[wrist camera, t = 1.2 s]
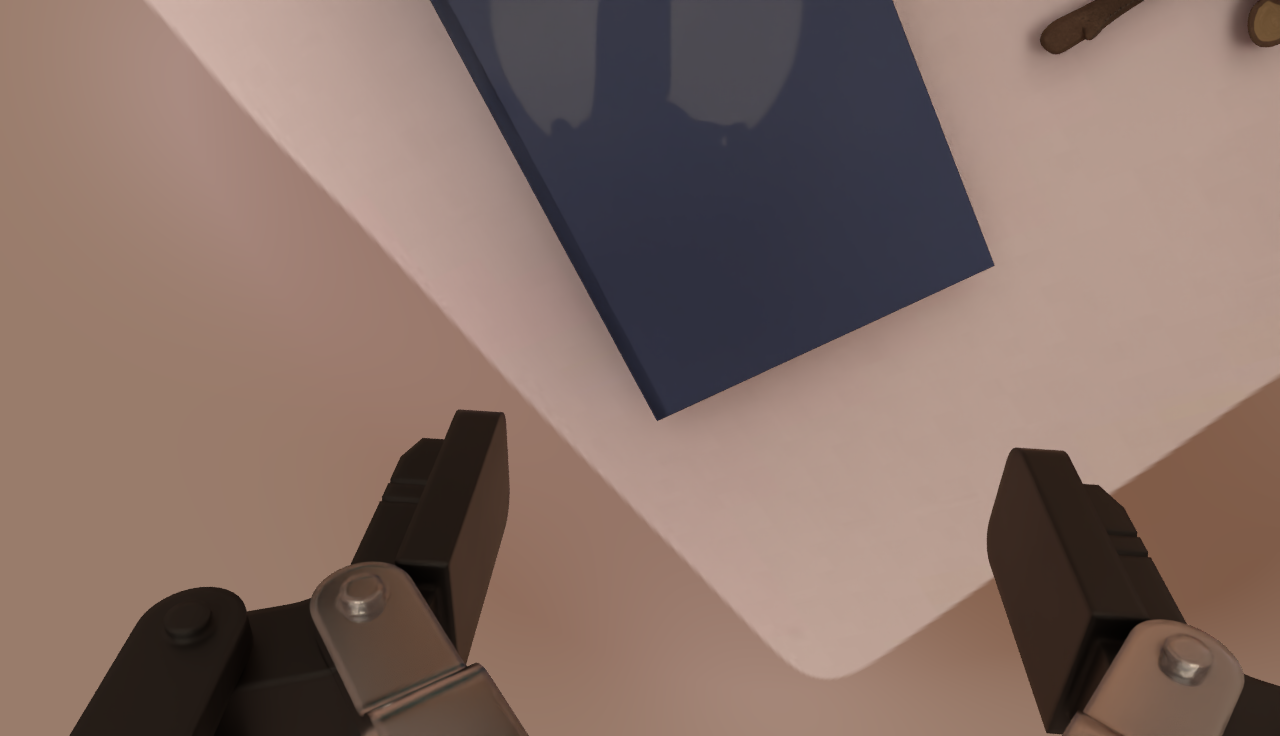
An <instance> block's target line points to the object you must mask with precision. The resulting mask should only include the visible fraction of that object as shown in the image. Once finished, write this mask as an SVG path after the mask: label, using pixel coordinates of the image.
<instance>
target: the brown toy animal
mask: <svg viewBox="0 0 1280 736" xmlns="http://www.w3.org/2000/svg"><path fill="white" fill-rule="evenodd" d="M1142 1H1144V0H1095V1H1093V2H1091V3H1089V4H1087V5H1085V6H1084V7H1081V8H1079V9H1077V10H1075V11H1073V12H1071V13H1069V14H1067V15H1065V16H1063V17H1061V18H1059V19H1057V20H1056V21H1054V22H1052V23H1051V24H1050V25H1049V26H1048V27H1047V28H1046V29H1045V30H1044V31H1043V33H1042V34H1041V37H1040V42H1041V45H1042V46H1043V48H1044V49H1045V50H1047V51H1048V52H1050V53H1052V54H1060V53H1063V52H1065V51H1067V50H1068V49H1070V48H1072V47H1073V46H1075V45H1076V44H1078V43H1079V42H1081V41H1083V40H1084V39H1086V40H1092V39H1093V38H1095V37H1096V36H1097V35H1098V34H1099V33H1100V32H1101V31H1102V29H1104V28H1105V27H1106V26H1107V25H1108V24H1110V23H1111V22H1112V21H1114V20H1115V19H1116V18H1118V17H1119V16H1121V15H1122V14H1124V13H1125V12H1127V11H1128V10H1130V9H1131V8H1133V7H1134V6H1136V5H1138V4H1139V3H1141V2H1142ZM1248 32H1249V35H1250V38H1251V39H1252V41H1253V42H1254V43H1255V44H1256V45H1258V46H1260V47H1272V46H1275V45H1278V44H1280V0H1259V1H1258V2H1257V3H1256V4H1255V5H1254V6H1253V7H1252V9H1251V11H1250V13H1249V17H1248Z"/></svg>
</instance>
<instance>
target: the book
mask: <svg viewBox="0 0 1280 736" xmlns="http://www.w3.org/2000/svg"><path fill="white" fill-rule="evenodd" d="M430 1H431V3H432V5H433V6H434V8H435V10H436V12H437V14H438V16H439V18H440V19H441V21H442V23H443V25H444V27H445V29H446V31H447V32H448V34H449V36H450V38H451V40H452V42H453V44H454V45H455V47H456V49H457V51H458V53H459V55H460V57H461V58H462V60H463V62H464V64H465V66H466V68H467V70H468V71H469V73H470V75H471V77H472V79H473V81H474V83H475V84H476V86H477V88H478V90H479V92H480V94H481V96H482V97H483V99H484V101H485V103H486V105H487V107H488V108H489V110H490V112H491V114H492V116H493V118H494V120H495V121H496V123H497V125H498V127H499V129H500V131H501V133H502V134H503V136H504V138H505V140H506V142H507V144H508V146H509V147H510V149H511V151H512V153H513V155H514V157H515V159H516V160H517V162H518V164H519V166H520V168H521V170H522V172H523V173H524V175H525V177H526V179H527V181H528V183H529V185H530V186H531V188H532V190H533V192H534V194H535V196H536V198H537V199H538V201H539V203H540V205H541V207H542V209H543V210H544V212H545V214H546V216H547V218H548V220H549V222H550V223H551V225H552V227H553V229H554V231H555V233H556V235H557V236H558V238H559V240H560V242H561V244H562V246H563V248H564V249H565V251H566V253H567V255H568V257H569V259H570V261H571V262H572V264H573V266H574V268H575V270H576V272H577V274H578V275H579V277H580V279H581V281H582V283H583V285H584V287H585V288H586V290H587V292H588V294H589V296H590V298H591V300H592V301H593V303H594V305H595V307H596V309H597V311H598V312H599V314H600V316H601V318H602V320H603V322H604V324H605V325H606V327H607V329H608V331H609V333H610V335H611V337H612V338H613V340H614V342H615V344H616V346H617V348H618V350H619V351H620V353H621V355H622V357H623V359H624V361H625V363H626V364H627V366H628V368H629V370H630V372H631V374H632V376H633V377H634V379H635V381H636V383H637V385H638V387H639V389H640V390H641V392H642V394H643V396H644V398H645V400H646V402H647V403H648V405H649V407H650V409H651V411H652V413H653V415H654V416H655V418H656V420H657V421H658V420H661V419H663V418H665V417H667V416H669V415H671V414H674V413H676V412H678V411H680V410H682V409H684V408H687V407H689V406H691V405H693V404H695V403H697V402H700V401H702V400H704V399H706V398H708V397H710V396H713V395H715V394H717V393H719V392H721V391H724V390H726V389H728V388H730V387H732V386H734V385H737V384H739V383H741V382H743V381H745V380H747V379H750V378H752V377H754V376H756V375H758V374H760V373H763V372H765V371H767V370H769V369H771V368H773V367H776V366H778V365H780V364H782V363H784V362H786V361H789V360H791V359H793V358H795V357H797V356H799V355H802V354H804V353H806V352H808V351H810V350H812V349H815V348H817V347H819V346H821V345H823V344H826V343H828V342H830V341H832V340H834V339H836V338H839V337H841V336H843V335H845V334H847V333H849V332H852V331H854V330H856V329H858V328H860V327H862V326H865V325H867V324H869V323H871V322H873V321H875V320H878V319H880V318H882V317H884V316H886V315H888V314H891V313H893V312H895V311H897V310H899V309H901V308H904V307H906V306H908V305H910V304H912V303H915V302H917V301H919V300H921V299H923V298H925V297H928V296H930V295H932V294H934V293H936V292H938V291H941V290H943V289H945V288H947V287H949V286H951V285H954V284H956V283H958V282H960V281H962V280H964V279H967V278H969V277H971V276H973V275H975V274H977V273H980V272H982V271H984V270H986V269H988V268H990V267H993V266H994V263H993V260H992V258H991V255H990V252H989V250H988V247H987V245H986V242H985V239H984V237H983V234H982V232H981V229H980V226H979V224H978V221H977V219H976V216H975V214H974V211H973V208H972V206H971V203H970V201H969V198H968V195H967V193H966V190H965V188H964V185H963V182H962V180H961V177H960V175H959V172H958V169H957V167H956V164H955V162H954V159H953V157H952V154H951V151H950V149H949V146H948V144H947V141H946V138H945V136H944V133H943V131H942V128H941V125H940V123H939V120H938V118H937V115H936V112H935V110H934V107H933V105H932V102H931V100H930V97H929V94H928V92H927V89H926V87H925V84H924V81H923V79H922V76H921V74H920V71H919V68H918V66H917V63H916V61H915V58H914V55H913V53H912V50H911V48H910V45H909V43H908V40H907V37H906V35H905V32H904V30H903V27H902V24H901V22H900V19H899V17H898V14H897V11H896V9H895V6H894V4H893V1H892V0H430Z"/></svg>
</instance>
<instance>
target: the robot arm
mask: <svg viewBox="0 0 1280 736" xmlns="http://www.w3.org/2000/svg"><path fill="white" fill-rule="evenodd" d="M509 490H510V488H509V469H508V449H507V431H506V419H505V415H504V413H503V412H488V411H473V410H457V411H456V413H455V415H454V418H453V420H452V422H451V425H450V427H449V430H448V432H447V434H446V437H445V439H444V440H443V439H430V438H422V439H421V440H420V441H419V442H418V443H416V444H415V445H414V446H413V447H412V448H410V449H409V450H408V451H407V452H406V453H405V454H404V455H402V456H401V457H400V460H399V462H398V464H397V466H396V468H395V470H394V472H393V475H392V477H391V482H390V483H388V485H387V488H386V490H385V492H384V494H383V496H382V501H380V503H379V505H378V507H377V509H376V511H375V513H374V516H373V518H372V520H371V522H370V524H369V526H368V528H367V531H366V533H365V535H364V537H363V539H362V541H361V543H360V546H359V548H358V550H357V552H356V554H355V556H354V558H353V561H352V563H351V565H349V566H346V567H344V568H342V569H339V570H337V571H336V572H334V573H332V574H331V575H329V576H328V577H327V578H325V579H324V580H323V581H322V582H321V583H320V584H319V585H318V586H317V588H316V589H315V591H314V593H313V595H312V597H311V598H310V599H307V600H304V601H301V602H297V603H293V604H288V605H283V606H277V607H271V608H265V609H259V610H253V611H248V612H247V611H246V607H245V605H244V603H243V601H242V600H241V599H240V597H239V596H237V595H236V594H234V593H233V592H231V591H229V590H226V589H222V588H216V587H199V588H193V589H188V590H185V591H181V592H179V593H176V594H173V595H171V596H169V597H167V598H165V599H163V600H161V601H160V602H158V603H157V604H155V605H154V606H153V607H151V608H150V609H149V610H148V611H147V612H146V613H145V614H144V615H143V616H142V617H141V618H140V620H139V621H138V623H137V624H136V626H135V628H134V629H133V631H132V632H131V634H130V636H129V637H128V639H127V641H126V643H125V644H124V646H123V647H122V649H121V651H120V652H119V654H118V656H117V658H116V659H115V661H114V662H113V664H112V666H111V667H110V669H109V671H108V672H107V674H106V676H105V677H104V679H103V681H102V682H101V684H100V686H99V688H98V689H97V691H96V692H95V694H94V696H93V698H92V699H91V701H90V702H89V704H88V706H87V707H86V709H85V711H84V712H83V714H82V716H81V717H80V719H79V721H78V722H77V724H76V726H75V727H74V729H73V731H72V732H71V734H70V736H528V734H527V732H526V731H525V729H524V728H523V726H522V725H521V723H520V721H519V720H518V718H517V717H516V715H515V714H514V712H513V711H512V709H511V707H510V706H509V704H508V703H507V701H506V700H505V698H504V697H503V695H502V693H501V692H500V690H499V689H498V687H497V686H496V684H495V683H494V681H493V679H492V678H491V676H490V675H489V674H488V672H487V671H486V669H485V668H484V667H483V666H482V665H480V664H479V663H474V664H472V665H470V666H468V667H467V666H466V663H467V659H468V656H469V652H470V648H471V645H472V641H473V638H474V635H475V631H476V628H477V624H478V621H479V617H480V614H481V610H482V607H483V603H484V600H485V596H486V593H487V589H488V585H489V582H490V579H491V575H492V571H493V568H494V565H495V561H496V558H497V554H498V551H499V547H500V544H501V540H502V537H503V533H504V529H505V526H506V521H507V516H508V509H509V494H510V492H509ZM987 552H988V559H989V563H990V566H991V569H992V572H993V575H994V578H995V580H996V584H997V587H998V590H999V593H1000V595H1001V599H1002V602H1003V605H1004V608H1005V611H1006V614H1007V617H1008V619H1009V623H1010V626H1011V628H1012V632H1013V634H1014V638H1015V640H1016V644H1017V647H1018V649H1019V652H1020V655H1021V658H1022V661H1023V664H1024V667H1025V670H1026V673H1027V676H1028V679H1029V682H1030V685H1031V688H1032V691H1033V694H1034V697H1035V700H1036V703H1037V706H1038V709H1039V712H1040V715H1041V718H1042V721H1043V724H1044V727H1045V730H1046V733H1052V734H1063V735H1062V736H1280V686H1277V685H1274V684H1271V683H1267V682H1264V681H1261V680H1258V679H1255V678H1252V677H1250V676H1248V675H1245V674H1244V673H1243V670H1242V667H1241V665H1240V664H1239V662H1238V660H1237V659H1236V658H1235V656H1234V655H1233V654H1232V653H1231V652H1230V651H1229V650H1228V649H1227V647H1225V646H1224V645H1223V644H1222V643H1221V642H1219V641H1218V640H1217V639H1215V638H1214V637H1212V636H1211V635H1209V634H1207V633H1206V632H1204V631H1202V630H1200V629H1198V628H1195V627H1193V626H1191V625H1187V623H1186V622H1185V620H1184V618H1183V616H1182V614H1181V612H1180V611H1179V609H1178V607H1177V605H1176V603H1175V602H1174V599H1173V598H1172V596H1171V594H1170V592H1169V590H1168V588H1167V587H1166V585H1165V583H1164V581H1163V580H1162V577H1161V576H1160V574H1159V572H1158V570H1157V568H1156V566H1155V564H1154V563H1153V561H1152V559H1151V558H1150V557H1148V551H1147V550H1146V548H1145V546H1144V544H1143V542H1142V540H1141V539H1140V537H1137V531H1136V529H1135V527H1134V526H1133V524H1132V522H1131V520H1130V518H1129V517H1128V515H1127V513H1126V511H1125V509H1124V507H1122V506H1121V505H1120V504H1119V503H1118V502H1117V501H1116V500H1114V499H1113V498H1112V497H1111V496H1110V495H1109V494H1108V493H1107V492H1106V491H1105V490H1103V489H1102V488H1101V487H1100V486H1099V485H1089V484H1083V483H1082V481H1081V479H1080V477H1079V475H1078V474H1077V472H1076V470H1075V468H1074V466H1073V464H1072V462H1071V460H1070V458H1069V456H1068V454H1067V453H1066V452H1064V451H1058V450H1043V449H1028V448H1013V449H1012V450H1011V452H1010V453H1009V455H1008V458H1007V461H1006V464H1005V468H1004V471H1003V475H1002V478H1001V482H1000V485H999V489H998V492H997V496H996V499H995V503H994V506H993V510H992V513H991V517H990V520H989V524H988V531H987Z"/></svg>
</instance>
